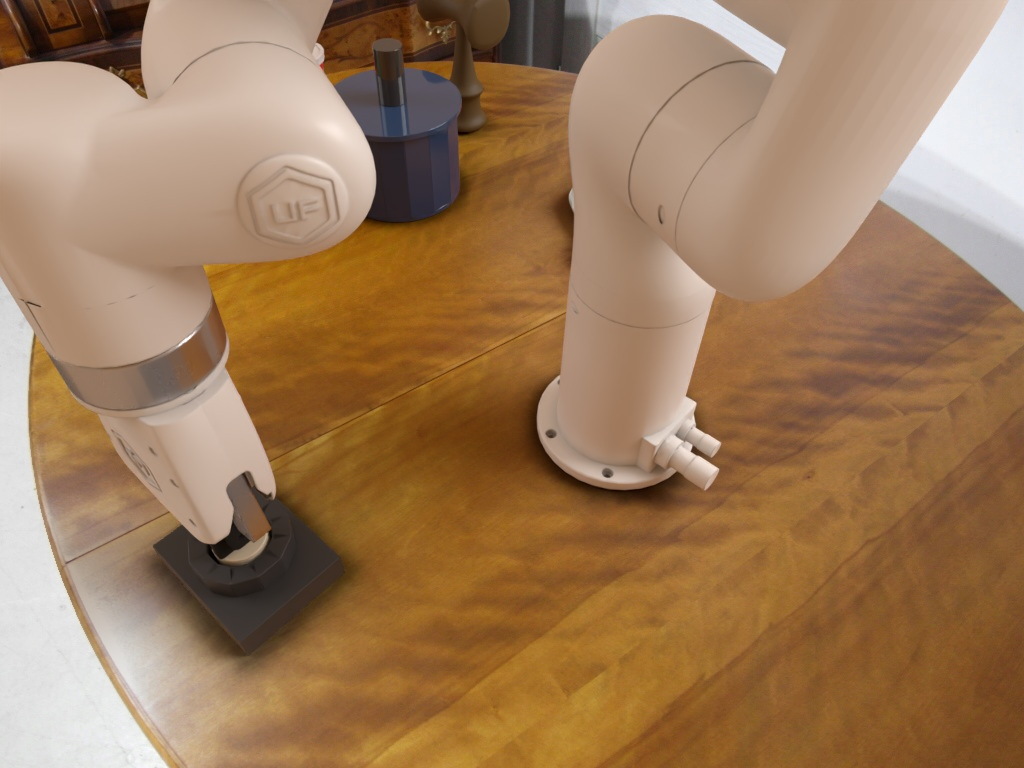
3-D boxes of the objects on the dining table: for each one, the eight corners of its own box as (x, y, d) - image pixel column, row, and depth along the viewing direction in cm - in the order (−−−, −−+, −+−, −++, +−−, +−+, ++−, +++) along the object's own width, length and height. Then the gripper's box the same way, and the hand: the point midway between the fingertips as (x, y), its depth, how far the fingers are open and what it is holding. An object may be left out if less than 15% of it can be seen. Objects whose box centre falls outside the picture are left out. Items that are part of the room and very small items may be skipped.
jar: (483, 185, 84) (482, 104, 77) (398, 238, 78) (388, 155, 71) (404, 142, 90) (397, 63, 83) (319, 188, 84) (302, 106, 76)
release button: (283, 548, 52) (278, 534, 51) (238, 584, 50) (231, 571, 49) (251, 516, 54) (245, 503, 52) (206, 551, 52) (199, 537, 50)
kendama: (473, 150, 89) (469, -36, 74) (420, 117, 94) (406, -64, 79) (511, 131, 92) (514, -51, 77) (457, 100, 96) (451, -77, 81)
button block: (345, 572, 54) (336, 543, 51) (248, 656, 49) (232, 630, 46) (258, 490, 58) (245, 459, 55) (162, 561, 54) (142, 531, 51)
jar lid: (490, 109, 78) (489, 43, 73) (389, 164, 71) (381, 96, 66) (397, 65, 84) (391, 1, 79) (296, 112, 77) (282, 45, 72)
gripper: (-11, 304, 38) (120, 507, 52) (155, 474, 32) (255, 655, 45) (129, 235, 42) (217, 442, 56) (302, 375, 35) (354, 569, 49)
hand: (234, 537), depth 50 cm, fingers closed
